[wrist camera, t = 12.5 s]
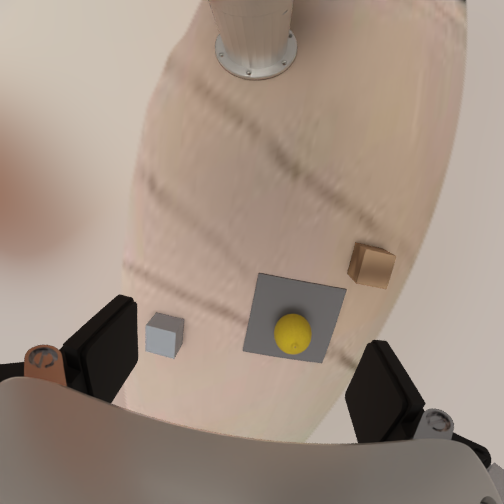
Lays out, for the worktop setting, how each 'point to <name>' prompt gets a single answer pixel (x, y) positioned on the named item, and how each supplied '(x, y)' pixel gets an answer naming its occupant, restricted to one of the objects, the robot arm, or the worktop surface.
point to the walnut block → (371, 266)
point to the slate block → (164, 335)
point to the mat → (292, 302)
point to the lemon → (292, 334)
